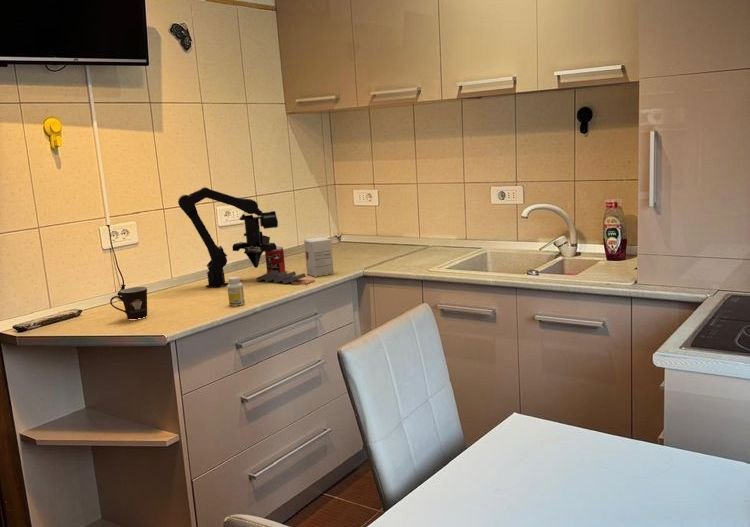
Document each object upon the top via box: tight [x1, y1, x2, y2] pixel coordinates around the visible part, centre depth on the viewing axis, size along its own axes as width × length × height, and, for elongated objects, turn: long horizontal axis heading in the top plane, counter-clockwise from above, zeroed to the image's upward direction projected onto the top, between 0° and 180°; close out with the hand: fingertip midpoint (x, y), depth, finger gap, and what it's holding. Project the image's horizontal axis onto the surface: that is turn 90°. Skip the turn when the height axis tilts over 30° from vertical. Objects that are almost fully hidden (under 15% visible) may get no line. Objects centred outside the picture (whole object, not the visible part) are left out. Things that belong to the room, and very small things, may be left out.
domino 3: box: [272, 271, 297, 284], centre depth 281 cm, size 5×2×8 cm
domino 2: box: [264, 270, 288, 283], centre depth 284 cm, size 5×2×8 cm
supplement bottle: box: [226, 276, 245, 307], centre depth 249 cm, size 5×5×10 cm
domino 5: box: [290, 278, 316, 285], centre depth 278 cm, size 5×2×8 cm
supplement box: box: [303, 236, 335, 278], centre depth 292 cm, size 9×9×15 cm
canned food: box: [264, 245, 286, 274], centre depth 302 cm, size 8×8×11 cm
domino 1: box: [255, 270, 278, 282], centre depth 287 cm, size 5×2×8 cm
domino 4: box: [282, 272, 306, 285], centre depth 278 cm, size 5×2×8 cm
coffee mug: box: [109, 286, 148, 320], centre depth 239 cm, size 12×9×10 cm
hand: (256, 267), depth 288 cm, fingers closed
